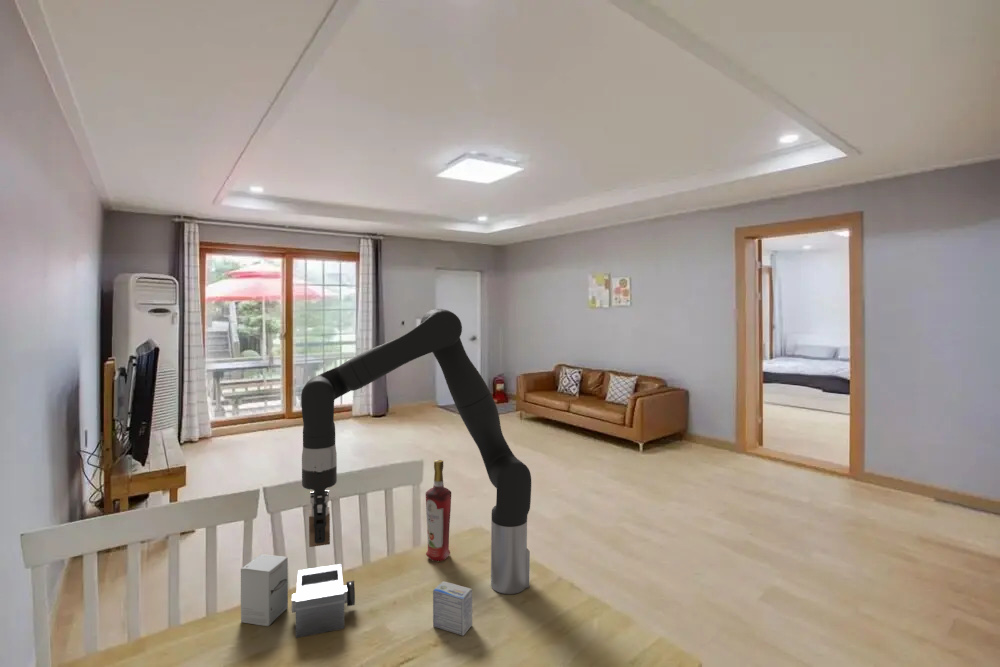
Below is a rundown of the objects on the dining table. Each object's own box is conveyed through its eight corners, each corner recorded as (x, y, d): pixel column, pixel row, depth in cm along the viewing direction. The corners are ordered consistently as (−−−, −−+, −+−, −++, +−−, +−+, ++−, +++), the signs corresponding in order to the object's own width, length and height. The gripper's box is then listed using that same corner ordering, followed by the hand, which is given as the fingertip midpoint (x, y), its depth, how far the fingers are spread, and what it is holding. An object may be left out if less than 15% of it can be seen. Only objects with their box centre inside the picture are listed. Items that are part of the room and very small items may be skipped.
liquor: (419, 559, 145) (420, 462, 143) (436, 549, 151) (436, 456, 149) (440, 566, 141) (440, 466, 139) (456, 555, 147) (456, 460, 146)
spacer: (329, 536, 120) (329, 507, 120) (329, 544, 116) (329, 514, 116) (309, 538, 118) (309, 509, 118) (309, 547, 114) (309, 516, 114)
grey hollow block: (341, 595, 126) (341, 563, 126) (344, 628, 113) (344, 593, 113) (298, 602, 123) (297, 570, 123) (295, 637, 110) (295, 601, 109)
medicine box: (472, 625, 115) (473, 588, 114) (463, 637, 111) (463, 598, 110) (442, 616, 118) (442, 580, 118) (432, 627, 114) (432, 589, 114)
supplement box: (269, 627, 113) (268, 571, 113) (239, 622, 115) (239, 568, 114) (289, 608, 121) (288, 556, 120) (261, 604, 122) (260, 552, 121)
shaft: (353, 597, 123) (353, 576, 123) (354, 609, 118) (354, 587, 118) (292, 608, 118) (292, 586, 118) (291, 621, 113) (291, 598, 113)
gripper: (302, 457, 122) (303, 527, 123) (300, 475, 108) (301, 554, 109) (335, 454, 124) (335, 523, 125) (337, 472, 111) (338, 549, 112)
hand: (319, 537), depth 117 cm, fingers closed on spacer, 4 cm apart
